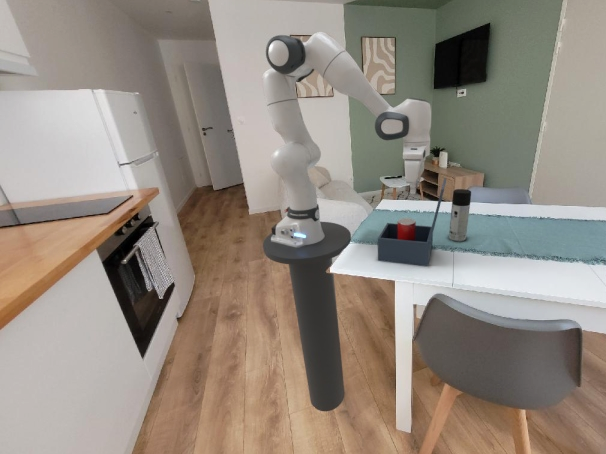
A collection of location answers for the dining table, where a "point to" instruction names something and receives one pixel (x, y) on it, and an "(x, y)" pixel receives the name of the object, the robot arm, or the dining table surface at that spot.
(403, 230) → the can
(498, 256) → the dining table surface
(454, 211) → the spray can
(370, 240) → the dining table surface
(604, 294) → the dining table surface
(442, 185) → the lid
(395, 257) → the dark blue box
